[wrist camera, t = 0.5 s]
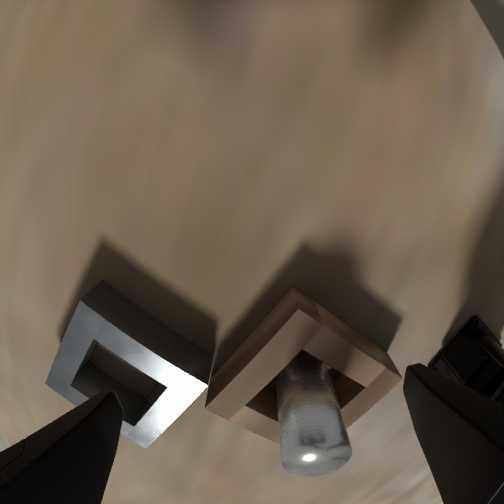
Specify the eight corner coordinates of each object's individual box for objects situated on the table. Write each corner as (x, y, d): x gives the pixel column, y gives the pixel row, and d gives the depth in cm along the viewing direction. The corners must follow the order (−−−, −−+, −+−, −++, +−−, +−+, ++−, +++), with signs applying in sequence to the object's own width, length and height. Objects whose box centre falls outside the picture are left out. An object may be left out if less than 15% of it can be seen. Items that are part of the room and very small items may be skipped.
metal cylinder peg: (336, 362, 24) (365, 449, 15) (302, 394, 24) (317, 482, 16) (297, 338, 23) (316, 428, 14) (264, 373, 24) (267, 465, 15)
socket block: (387, 352, 23) (402, 378, 20) (305, 427, 26) (309, 455, 22) (292, 285, 22) (298, 308, 18) (210, 378, 24) (204, 408, 21)
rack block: (213, 356, 23) (207, 385, 20) (155, 421, 26) (146, 448, 22) (101, 280, 22) (80, 300, 18) (63, 361, 24) (45, 383, 21)
